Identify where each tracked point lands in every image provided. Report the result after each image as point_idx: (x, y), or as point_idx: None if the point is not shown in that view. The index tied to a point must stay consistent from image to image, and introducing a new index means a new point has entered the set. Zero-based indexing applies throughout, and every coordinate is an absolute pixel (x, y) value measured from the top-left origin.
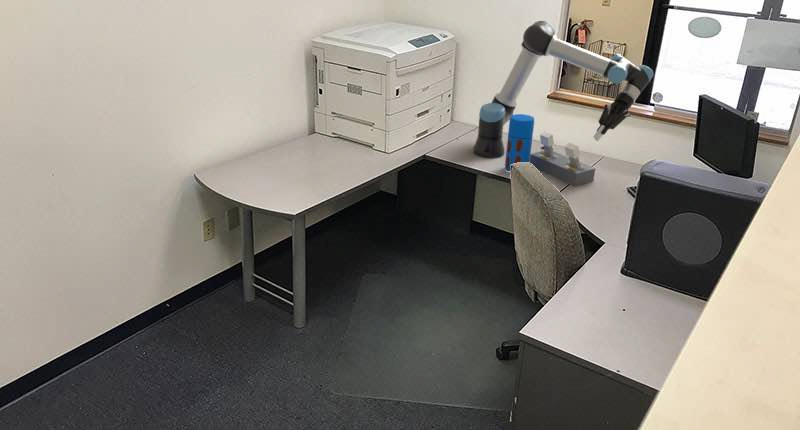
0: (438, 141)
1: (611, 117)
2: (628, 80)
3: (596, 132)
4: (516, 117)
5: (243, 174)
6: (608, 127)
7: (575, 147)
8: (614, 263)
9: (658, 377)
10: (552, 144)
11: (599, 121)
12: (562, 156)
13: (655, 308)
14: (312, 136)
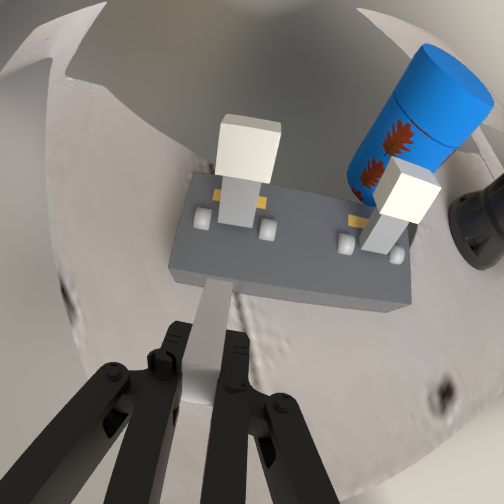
0: None
1: (149, 477)
2: None
3: (228, 305)
4: (461, 67)
5: (438, 44)
6: (144, 374)
7: (227, 119)
8: (54, 62)
9: (33, 30)
10: (377, 206)
11: (282, 400)
12: (339, 281)
13: (24, 55)
14: None
